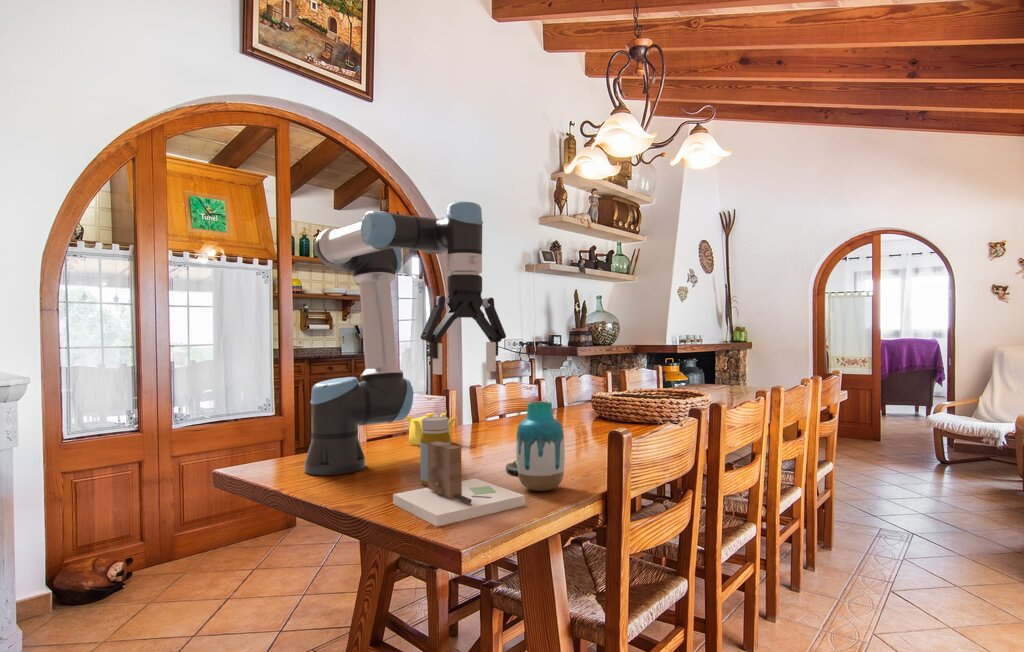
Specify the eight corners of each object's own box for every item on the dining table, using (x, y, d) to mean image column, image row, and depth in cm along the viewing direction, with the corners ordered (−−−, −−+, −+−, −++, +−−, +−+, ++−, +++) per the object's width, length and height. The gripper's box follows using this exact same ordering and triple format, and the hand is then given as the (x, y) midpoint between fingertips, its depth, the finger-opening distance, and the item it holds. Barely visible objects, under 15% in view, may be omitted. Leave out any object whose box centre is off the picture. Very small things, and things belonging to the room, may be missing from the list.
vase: (529, 498, 119) (528, 406, 120) (509, 486, 129) (508, 401, 129) (574, 492, 124) (572, 403, 124) (551, 481, 133) (549, 398, 134)
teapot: (458, 445, 179) (457, 414, 179) (413, 449, 174) (412, 417, 174) (445, 438, 193) (445, 409, 193) (403, 442, 187) (403, 412, 188)
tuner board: (393, 504, 117) (393, 493, 117) (475, 487, 129) (475, 477, 129) (436, 526, 103) (436, 514, 103) (524, 505, 115) (524, 494, 115)
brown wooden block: (426, 489, 119) (425, 442, 119) (441, 486, 121) (440, 440, 121) (461, 504, 108) (461, 453, 108) (477, 501, 110) (477, 450, 110)
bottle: (445, 487, 129) (444, 420, 129) (416, 486, 131) (415, 420, 131) (455, 480, 136) (454, 416, 136) (427, 479, 137) (426, 416, 138)
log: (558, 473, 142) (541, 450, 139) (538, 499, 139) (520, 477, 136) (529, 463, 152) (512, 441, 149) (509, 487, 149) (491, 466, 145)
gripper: (421, 270, 114) (421, 376, 114) (521, 276, 129) (521, 370, 129) (404, 273, 120) (404, 374, 120) (501, 278, 135) (501, 368, 135)
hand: (465, 372), depth 125 cm, fingers open, 13 cm apart
